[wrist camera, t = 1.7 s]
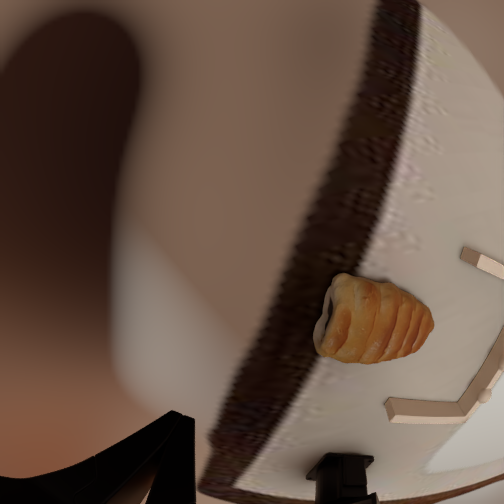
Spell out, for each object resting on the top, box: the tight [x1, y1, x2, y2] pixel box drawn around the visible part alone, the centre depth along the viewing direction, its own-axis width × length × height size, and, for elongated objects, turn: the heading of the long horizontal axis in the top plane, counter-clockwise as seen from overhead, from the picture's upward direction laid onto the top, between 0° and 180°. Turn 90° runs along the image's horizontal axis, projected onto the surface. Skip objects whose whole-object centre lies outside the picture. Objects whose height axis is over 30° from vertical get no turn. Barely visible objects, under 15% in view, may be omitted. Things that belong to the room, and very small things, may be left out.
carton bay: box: [384, 247, 504, 424], centre depth 16 cm, size 16×11×3 cm
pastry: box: [313, 273, 434, 364], centre depth 17 cm, size 9×7×4 cm
